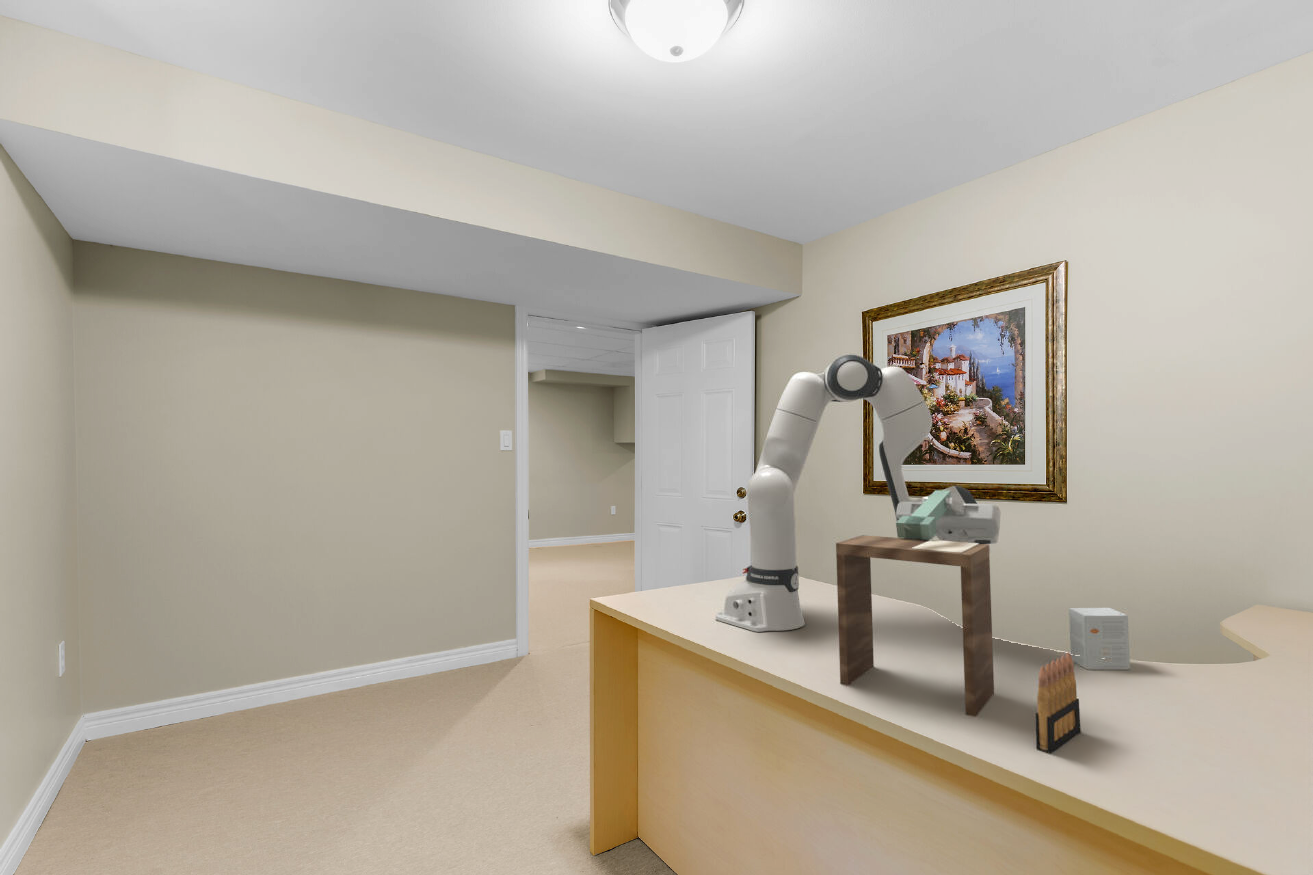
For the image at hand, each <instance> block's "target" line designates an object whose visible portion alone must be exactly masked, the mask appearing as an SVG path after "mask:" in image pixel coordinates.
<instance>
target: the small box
mask: <svg viewBox="0 0 1313 875" xmlns="http://www.w3.org/2000/svg"><path fill="white" fill-rule="evenodd" d="M1068 618H1069V619H1068V621H1069V641H1070V642H1069V644H1070V646H1069V648H1070V655H1071V654H1073V655H1071V657H1072V660H1073V663H1076V664H1078V665H1079V666H1080V667H1082V668H1084V669H1086V670H1097V671H1098V670H1099V671H1102V670H1105V671H1107V670H1108V671H1109V670H1111V671H1113V670H1116V671H1117V670H1120V671H1121V670H1123V671H1124V670H1125V671H1126V670H1128V671H1129V670H1130V669H1131V659H1130V658H1131V656H1130V637H1129V634H1130V633H1129V632H1130V631H1129V615H1127V614H1126V613H1123V612H1121V611H1118V610H1116V609H1114V608H1112V607H1071V608H1070V607H1069V608H1068ZM1075 655H1080V656H1075ZM1102 658H1105V659H1102Z"/></svg>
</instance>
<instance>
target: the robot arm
mask: <svg viewBox="0 0 1313 875" xmlns="http://www.w3.org/2000/svg"><path fill="white" fill-rule="evenodd" d="M861 399H862V400H866V402H869V403H870V405H871V407H872V408H873V409H874V410H875V412H876V414H877V417H878V419H879V422H880V423H881V425H882V431H883V436H882V437H883V438H882V441H881V442H880V443H879V444H878V446H879V447H878V451H879V458H880V462H881V466H882V470H883V474H884V477H885V480H886V485H887V488H888V492H889V494H890V499H891V503H892V505H893V509H894V514H895V523H896V522H897V521H898V520H899V519H900V518H901V517H902V516H911V515H912V514H913V513H914V512H915V511H916V510H917V509H918V508H919V507H920V506H921V505H922V504H923V503H924V502H925V501H926V500H927V499H928V497H929V496H930V495H931V494H929V495H927V496H923V497H921V498H918V499H915V500H914V499H913V500H912V499H911V498H910V496H909V492H908V488H907V484H906V482H905V479H904V475H903V471H902V467H903V464H904V462H905V460H906V458H907V457H909V455H910V454H911V453H912V452H913V451H914V450H916V449H917V448H918V447H919V446H920V445H921V444H922V443H923V442H924V441H925V439H926V438H927V437H928V435H929V434H930V433H931V430H932V427H933V418H932V414H931V411H930V409H929V406H928V405H927V402H926V400H925V398H924V396H923V394H922V393H921V391H920V389H919V388H918V386H917V384H915V382H914V380H913V379H912V378H911V376H910V375H909V374H908V373H907V372H906V370H905V369H903V368H902V367H900V366H896V365H895V366H893V365H892V366H886V367H883V368H879V367H878V366H876V364H873V363H872V362H870V361H869V360H868V359H866V358H864V357H862V356H860V355H856V354H846V355H842V356H840V357H838V358H836V359H835V360H833V361H832V362H831V363H830V364H829V365H828V366H827V367H826V368H825V369H824V370H823V371H822V372H821V373H813V372H811V371H810V372H809V371H802V372H797V373H795V374H794V375H793V376H791V378H790V380H789V381H788V382H787V385H786V386H785V388H784V389H783V391H782V394H781V397H780V399H779V401H778V402H777V406H776V409H775V411H774V415H773V417H772V420H771V423H770V426H769V429H768V430H767V435H766V438H765V440H764V443H763V444H764V445H763V446H762V450H761V454H760V457H759V461H758V464H757V466H756V469H755V471H754V474H753V475H752V476H751V477H750V479H749V480H748V483H747V491H746V492H747V506H748V507H747V509H748V519H749V520H748V521H749V530H750V550H751V551H750V553H751V555H750V557H751V560H750V561H751V564H750V565H749V566H747V567H746V568H743V569H742V571H743V572H742V574H746V576H745V580H744V581H742V582H741V583H739V584H738V585H737V586H736V587H735V588H733V589H732V590H730V592H728V593H727V594H726V597H725V602H724V609H722V610H720V611H718V612H717V613H716V614H715V620H716V621H719V622H722V623H726V624H729V625H732V626H736V627H740V628H742V629H746V630H749V631H752V632H756V633H758V632H761V633H762V632H768V631H770V632H772V631H775V632H776V631H790V630H796V629H799V628H802V627H804V626H805V624H806V622H805V620H804V616H803V613H802V612H803V611H802V607H801V601H800V596H799V587H800V586H799V585H800V582H799V580H800V577H799V566H798V565H797V544H796V543H797V542H796V540H797V538H796V521H795V520H796V519H795V518H796V517H795V497H794V495H795V494H794V493H795V491H796V488H797V486H798V483H799V480H800V477H801V474H802V471H803V469H804V467H805V464H806V462H807V458H808V455H809V452H810V451H811V450H810V449H811V447H812V444H813V442H814V439H815V435H816V433H817V431H818V427H819V425H820V422H821V419H822V416H823V413H824V411H825V409H826V406H828V404H829V403H832V402H838V403H851V402H854V401H857V400H861ZM942 490H943V491H950V492H951V498H945V502H944V505H945V506H946V508H948V509H947V511H946V512H945V513H944V514H943V515H942V516H941V518H940V519H939V520H938V521H937V522H936V529H937V533H936V534H935V535H934V536H933V537H932V539H934V538H937V539H938V540H940V541H953V542H967V543H979V544H984V545H989V555H990V554H991V546H990V544H997V543H998V540H999V535H1000V527H1001V525H1000V524H1001V510H1000V507H999V506H998V505H995V504H993V503H992V504H991V503H988V504H987V503H986V504H985V503H978V502H977V500H976V499H975V497H974V496H973V494H972V493H971V491H970V490H968V489H966V488H964V487H962V486H960V485H953V486H949V487H947V488H945V489H942ZM906 539H911V538H906ZM919 540H926V539H919Z"/></svg>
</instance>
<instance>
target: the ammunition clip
mask: <svg viewBox="0 0 1313 875" xmlns="http://www.w3.org/2000/svg"><path fill="white" fill-rule="evenodd" d="M1077 694H1078V693H1077V681H1076V677H1075V669H1074V661H1073V660H1072V657H1071V652H1067V653H1066V655H1065V654H1063V655H1062V656H1061V657H1057V658H1056V660H1055V659H1054V660H1053V659H1052V661H1051V663H1049V662H1047V663H1046V665H1045V666H1044V665H1041V667H1040V669H1039V674H1038V691H1037V697H1036V698H1037V711H1036V713H1035V738H1036V739H1035V742H1036V743H1035V744H1036V746H1035V747H1036V750H1038V751H1042V752H1044V753H1048V754H1053V753H1054V752H1055V751H1057V750H1059V749H1060V748H1062V746H1064V745H1065V744H1067V743H1068V742H1070V741H1071V740H1073V739H1074V738H1075V737H1077V736H1078V735H1079V734H1080V733H1082V731H1081V714H1080V710H1081V709H1080V699H1079V698H1077V696H1078V695H1077Z"/></svg>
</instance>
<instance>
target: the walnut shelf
mask: <svg viewBox="0 0 1313 875" xmlns="http://www.w3.org/2000/svg"><path fill="white" fill-rule="evenodd" d="M989 546H990V544H989V545H984V544H979V543H967V542H953V541H940V540H939V539H938V540H937V539H931V540H919V539H906V538H898V537H893V536H892V537H890V536H880V535H879V536H878V535H865V534H863V535H858V536H856V537H852V538H849V539H845V540H842V541H839V542H836V543H835V549H836V550H835V552H836V553H835V554H836V558H835V559H836V580H837V581H836V585H837V615H838V616H837V617H838V618H837V619H838V620H837V621H838V648H839V650H838V654H839V678H840V679H839V681H840V682H839V683H840V684H841V685H845V686H849V685H851V684H852V683H854V682H855V681H857V679H859V678H861V677H862V676H863V675H865V674H866V673H868V672H869V671H870V670H872V669H873V668H875V666H874V664H875V663H874V658H875V657H874V637H873V636H874V630H873V604H872V602H873V601H872V600H873V599H872V573H871V572H872V571H871V570H872V569H871V558H873V559H883V560H892V561H903V562H911V563H912V562H913V563H923V564H932V565H933V564H934V565H942V566H943V565H944V566H951V567H952V566H953V567H960V585H961V586H960V587H961V588H960V589H961V590H960V591H961V592H960V593H961V613H962V614H961V616H962V618H961V619H962V645H963V646H962V647H963V670H964V671H963V673H964V706H965V707H964V708H965V715H966V716H970V717H975V718H976V717H977V716H978V715H979V713H980V712H981V711H982V710H983V708H984V707H985V706H986V704H987V703H988V702H989V701H990V699H991V698H992V696H994V694H995V683H994V682H995V679H994V654H993V653H994V652H993V646H994V645H993V624H992V623H993V619H992V616H993V615H992V594H991V591H992V590H991V563H990V561H991V560H990V559H991V558H990V554H989Z"/></svg>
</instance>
